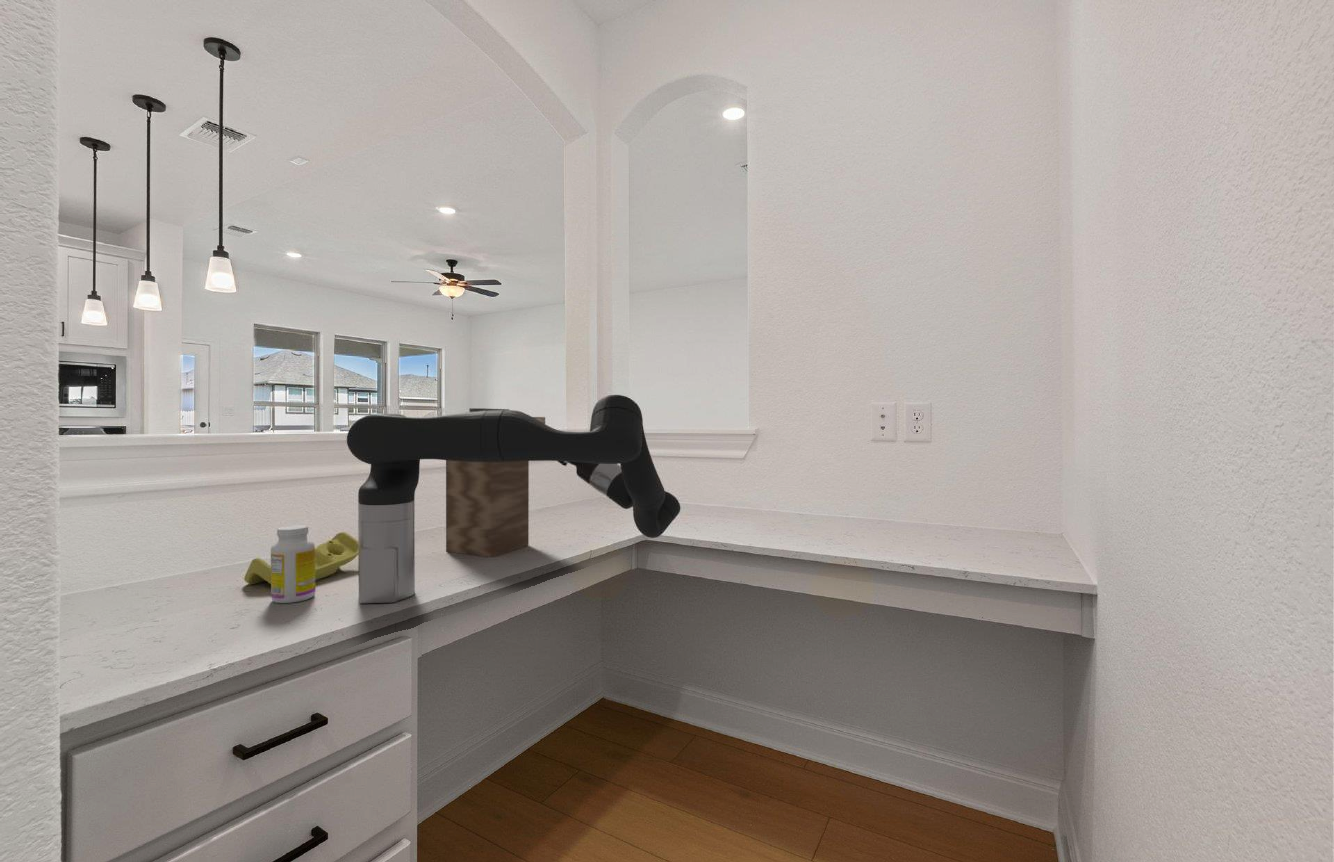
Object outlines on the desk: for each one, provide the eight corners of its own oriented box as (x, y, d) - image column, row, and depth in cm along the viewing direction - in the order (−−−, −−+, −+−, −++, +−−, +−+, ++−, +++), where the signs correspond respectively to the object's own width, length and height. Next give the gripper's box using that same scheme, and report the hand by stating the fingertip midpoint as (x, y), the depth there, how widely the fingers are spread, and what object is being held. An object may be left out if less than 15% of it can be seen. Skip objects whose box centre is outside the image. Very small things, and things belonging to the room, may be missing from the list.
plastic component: (286, 580, 107) (249, 553, 109) (276, 613, 108) (240, 586, 111) (371, 549, 125) (338, 527, 128) (362, 578, 127) (329, 555, 129)
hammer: (553, 429, 142) (553, 409, 142) (528, 429, 132) (528, 408, 132) (496, 428, 149) (496, 409, 148) (469, 429, 139) (469, 408, 139)
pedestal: (528, 545, 148) (528, 428, 147) (491, 557, 135) (491, 429, 134) (485, 540, 153) (485, 428, 153) (446, 551, 140) (445, 428, 140)
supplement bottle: (319, 591, 107) (318, 523, 107) (310, 602, 101) (310, 529, 101) (277, 595, 105) (276, 525, 105) (265, 606, 99) (265, 531, 98)
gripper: (577, 490, 126) (525, 450, 131) (609, 483, 139) (561, 447, 144) (592, 461, 124) (539, 422, 129) (623, 457, 137) (574, 422, 142)
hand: (550, 435), depth 137 cm, fingers open, 8 cm apart
